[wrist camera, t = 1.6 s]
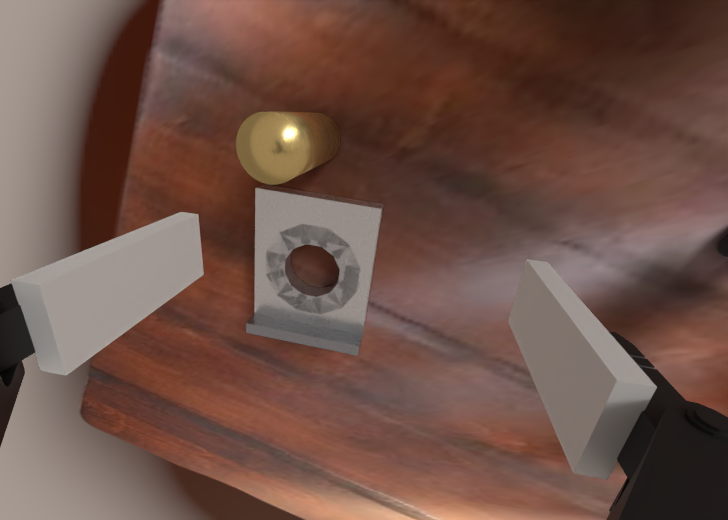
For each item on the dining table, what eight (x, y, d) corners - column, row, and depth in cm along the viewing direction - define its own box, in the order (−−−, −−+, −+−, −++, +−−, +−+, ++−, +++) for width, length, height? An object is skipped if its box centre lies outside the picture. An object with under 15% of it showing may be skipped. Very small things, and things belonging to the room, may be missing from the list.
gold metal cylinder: (295, 109, 32) (235, 106, 22) (343, 116, 31) (305, 117, 21) (292, 159, 34) (236, 179, 23) (338, 166, 33) (300, 189, 23)
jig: (264, 183, 35) (245, 192, 31) (383, 203, 34) (379, 214, 30) (261, 313, 41) (246, 332, 37) (363, 333, 40) (357, 355, 36)
